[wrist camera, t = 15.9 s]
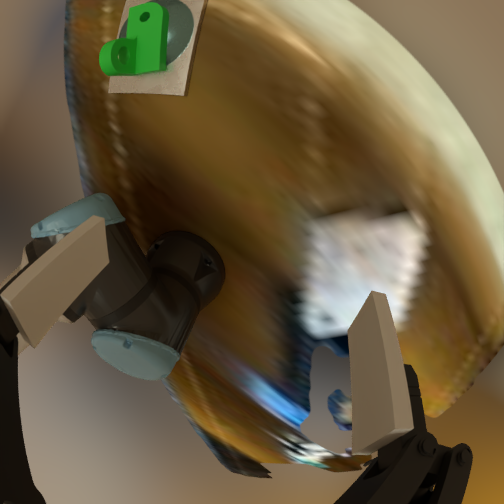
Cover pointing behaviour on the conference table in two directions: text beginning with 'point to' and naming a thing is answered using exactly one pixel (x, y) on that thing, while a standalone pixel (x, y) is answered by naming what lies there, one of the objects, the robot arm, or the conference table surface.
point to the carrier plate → (178, 50)
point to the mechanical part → (139, 43)
